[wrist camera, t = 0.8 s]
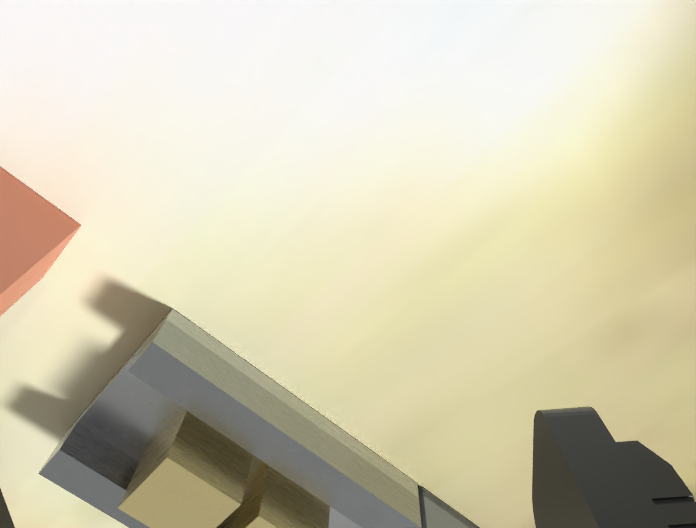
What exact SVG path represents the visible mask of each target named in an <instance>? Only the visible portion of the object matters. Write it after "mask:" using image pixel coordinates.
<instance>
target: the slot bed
mask: <svg viewBox="0 0 696 528" xmlns="http://www.w3.org/2000/svg"><path fill="white" fill-rule="evenodd" d="M183 409H185V410H187V411H188V412H190V413H191V414H193V415H194V416H196V417H197V418H199V419H200V420H202V421H203V422H205V423H206V424H208V425H209V426H211V427H212V428H214V429H215V430H217V431H218V432H220V433H221V434H223V435H224V436H226V437H227V438H229V439H230V440H232V441H233V442H235V443H236V444H238V445H239V446H241V447H242V448H244V449H245V450H247V451H248V452H250V453H251V454H252V455H253V458H252V462H251V466H250V470H249V474H248V476H249V475H250V474H251V473H252V472H253V471H254V470H255V469H256V468H258V467H259V466H260V465H261V464H262V463H263V462H264V463H266V464H267V465H269V466H270V467H272V468H273V469H275V470H276V471H278V472H279V473H281V474H282V475H284V476H285V477H287V478H288V479H290V480H291V481H293V482H294V483H296V484H297V485H299V486H300V487H302V488H303V489H305V490H306V491H308V492H309V493H311V494H312V495H314V496H315V497H317V498H318V499H320V500H321V501H323V502H324V503H326V504H327V505H329V506H330V514H329V528H422V527H421V516H420V506H419V495H418V485H417V483H416V482H415V481H413V480H412V479H410V478H409V477H408V476H406V475H405V474H403V473H402V472H401V471H399V470H398V469H396V468H395V467H394V466H392V465H391V464H389V463H388V462H387V461H385V460H384V459H382V458H381V457H380V456H378V455H377V454H375V453H374V452H373V451H371V450H370V449H368V448H367V447H366V446H364V445H363V444H361V443H360V442H359V441H357V440H356V439H354V438H353V437H352V436H350V435H349V434H347V433H346V432H345V431H343V430H342V429H340V428H339V427H338V426H336V425H335V424H333V423H332V422H331V421H329V420H328V419H326V418H325V417H324V416H322V415H321V414H319V413H318V412H317V411H315V410H314V409H312V408H311V407H310V406H308V405H307V404H305V403H304V402H303V401H301V400H300V399H298V398H297V397H296V396H294V395H293V394H291V393H290V392H289V391H287V390H286V389H284V388H283V387H282V386H280V385H279V384H277V383H276V382H275V381H273V380H272V379H270V378H269V377H268V376H266V375H265V374H263V373H262V372H261V371H259V370H258V369H256V368H255V367H254V366H252V365H251V364H249V363H248V362H247V361H245V360H244V359H242V358H241V357H240V356H238V355H237V354H235V353H234V352H233V351H231V350H230V349H228V348H227V347H226V346H224V345H223V344H221V343H220V342H219V341H217V340H216V339H214V338H213V337H212V336H210V335H209V334H207V333H206V332H205V331H203V330H202V329H200V328H199V327H198V326H196V325H195V324H193V323H192V322H191V321H189V320H188V319H186V318H185V317H184V316H182V315H181V314H179V313H178V312H177V311H175V310H174V309H172V310H171V311H170V312H169V313H168V315H167V316H166V317H165V318H164V319H163V320H162V322H161V323H160V324H159V325H158V326H157V327H156V329H155V330H154V331H153V332H152V333H151V334H150V335H149V337H148V338H147V339H146V340H145V341H144V342H143V344H142V345H141V346H140V347H139V348H138V349H137V351H136V352H135V353H134V354H133V355H132V356H131V358H130V359H129V360H128V361H127V362H126V363H125V365H124V366H123V367H122V368H121V369H120V370H119V371H118V373H117V374H116V375H115V376H114V377H113V378H112V380H111V381H110V382H109V383H108V384H107V385H106V387H105V388H104V389H103V390H102V391H101V392H100V394H99V395H98V396H97V397H96V398H95V399H94V400H93V402H92V403H91V404H90V405H89V406H88V407H87V409H86V410H85V411H84V412H83V413H82V414H81V416H80V417H79V418H78V419H77V420H76V421H75V423H74V424H73V425H72V426H71V427H70V428H69V429H68V431H67V432H66V433H65V435H64V436H63V438H62V439H61V441H60V442H59V444H58V445H57V447H56V448H55V450H54V451H53V453H52V454H51V456H50V457H49V459H48V460H47V462H46V463H45V465H44V466H43V468H42V469H41V471H40V472H39V473H38V474H40V475H42V476H43V477H45V478H47V479H48V480H50V481H52V482H53V483H55V484H57V485H59V486H60V487H62V488H64V489H65V490H67V491H69V492H70V493H72V494H74V495H75V496H77V497H79V498H80V499H82V500H84V501H85V502H87V503H89V504H90V505H92V506H94V507H96V508H97V509H99V510H101V511H102V512H104V513H106V514H107V515H109V516H111V517H112V518H114V519H116V520H117V521H119V522H121V523H122V524H124V525H126V526H127V527H129V528H150V527H148V526H146V525H145V524H143V523H141V522H140V521H138V520H136V519H135V518H133V517H131V516H130V515H128V514H126V513H125V512H123V511H121V510H120V509H118V507H119V504H120V502H121V500H122V498H123V496H124V494H125V492H126V490H127V488H128V485H129V483H130V481H131V479H132V477H133V475H134V473H135V471H136V469H137V467H138V464H139V462H140V460H141V458H142V456H143V454H144V452H145V450H146V448H147V447H148V446H149V445H150V444H151V442H152V441H153V440H154V439H155V438H156V437H157V436H158V435H159V434H160V433H161V432H162V431H163V430H164V429H165V428H166V427H167V426H168V425H169V423H170V422H171V421H172V420H173V419H174V418H175V417H176V416H177V415H178V414H179V413H180V412H181V411H182V410H183ZM216 528H217V527H216Z"/></svg>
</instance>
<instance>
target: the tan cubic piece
mask: <svg viewBox="0 0 696 528" xmlns="http://www.w3.org/2000/svg"><path fill="white" fill-rule="evenodd" d="M252 458H253V455H252V454H251V453H250V452H248V451H247V450H245V449H244V448H242V447H241V446H239V445H238V444H236V443H235V442H233V441H232V440H230V439H229V438H227V437H226V436H224V435H223V434H221V433H220V432H218V431H217V430H215V429H214V428H212V427H211V426H209V425H208V424H206V423H205V422H203V421H202V420H200V419H199V418H197V417H196V416H194V415H193V414H191V413H190V412H188V411H187V410H185V409H183V410H182V411H181V412H180V413H179V414H178V415H177V416H176V417H175V418H174V419H173V420H172V421H171V422H170V423H169V425H168V426H167V427H166V428H165V429H164V430H163V431H162V432H161V433H160V434H159V435H158V436H157V437H156V438H155V439H154V440H153V441H152V442H151V444H150V445H149V446H148V447H147V448H146V450H145V452H144V454H143V456H142V458H141V460H140V462H139V464H138V467H137V469H136V471H135V473H134V475H133V477H132V479H131V481H130V483H129V485H128V488H127V490H126V492H125V494H124V496H123V498H122V500H121V502H120V504H119V507H118V509H120V510H121V511H123V512H125V513H126V514H128V515H130V516H131V517H133V518H135V519H136V520H138V521H140V522H141V523H143V524H145V525H146V526H148V527H150V528H216V527H217V526H218V525H219V524H221V523H222V522H223V521H224V520H225V519H226V518H227V517H228V516H229V515H230V514H231V513H233V512H234V511H235V510H236V509H237V508H238V507H239V506H240V505H241V503H242V499H243V495H244V490H245V486H246V482H247V478H248V474H249V470H250V466H251V462H252Z"/></svg>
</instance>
